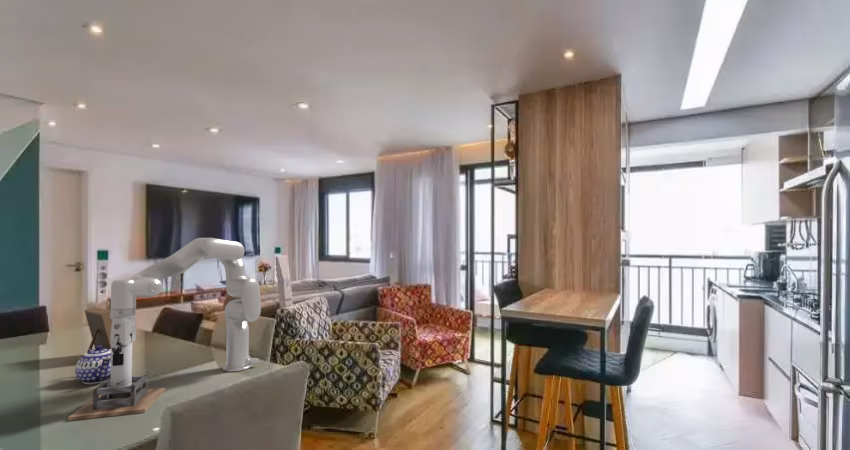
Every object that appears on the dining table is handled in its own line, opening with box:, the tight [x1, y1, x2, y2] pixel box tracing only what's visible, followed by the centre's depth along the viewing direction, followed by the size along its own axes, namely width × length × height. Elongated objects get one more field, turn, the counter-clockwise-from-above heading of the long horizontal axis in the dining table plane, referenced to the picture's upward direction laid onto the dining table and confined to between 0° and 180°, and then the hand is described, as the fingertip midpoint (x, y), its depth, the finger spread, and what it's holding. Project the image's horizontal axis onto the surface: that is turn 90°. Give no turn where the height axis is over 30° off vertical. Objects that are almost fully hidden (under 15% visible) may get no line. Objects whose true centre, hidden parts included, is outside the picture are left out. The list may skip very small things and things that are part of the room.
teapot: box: [74, 345, 111, 385], centre depth 175 cm, size 25×15×15 cm, turn 51°
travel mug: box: [110, 333, 133, 387], centre depth 149 cm, size 6×7×20 cm
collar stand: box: [67, 374, 167, 422], centre depth 148 cm, size 22×22×8 cm
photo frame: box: [84, 306, 112, 352], centre depth 208 cm, size 15×22×25 cm
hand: (122, 362), depth 149 cm, fingers closed on travel mug, 6 cm apart
